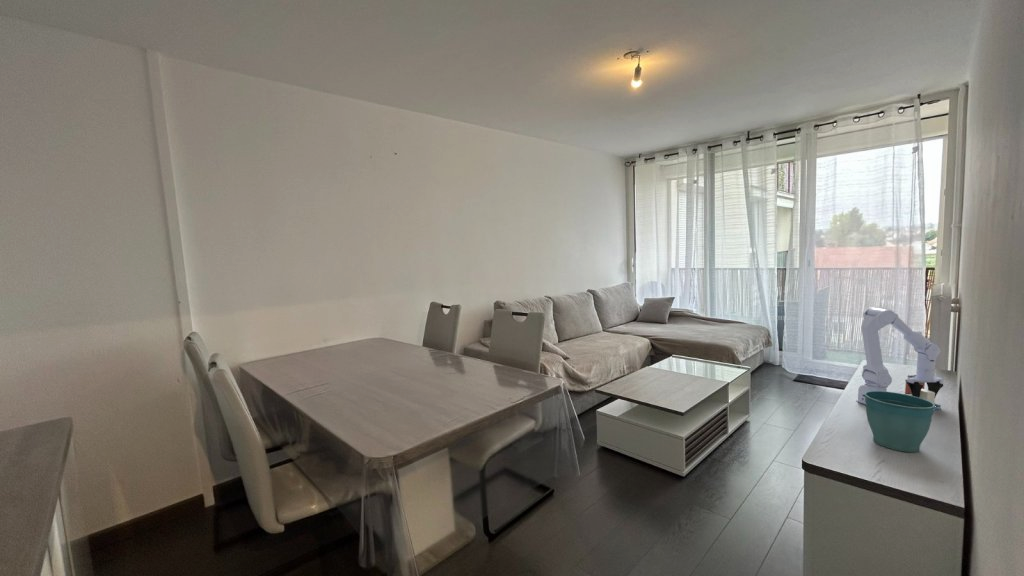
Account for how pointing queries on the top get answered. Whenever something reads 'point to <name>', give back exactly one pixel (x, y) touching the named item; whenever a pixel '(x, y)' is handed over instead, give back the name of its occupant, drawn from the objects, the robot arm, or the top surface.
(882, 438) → the flower pot
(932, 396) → the cream rectangular block
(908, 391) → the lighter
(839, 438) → the top surface
